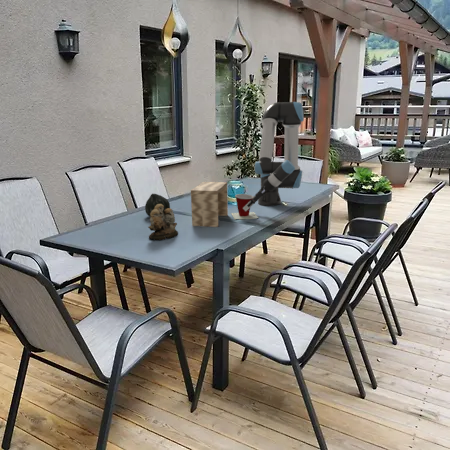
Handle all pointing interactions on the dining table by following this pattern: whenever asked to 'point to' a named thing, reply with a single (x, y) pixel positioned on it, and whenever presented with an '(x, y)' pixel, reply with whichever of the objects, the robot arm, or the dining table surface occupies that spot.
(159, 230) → the owl figurine
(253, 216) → the mat
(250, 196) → the plastic cup
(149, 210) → the squash
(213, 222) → the oak cabinet
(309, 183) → the dining table surface
